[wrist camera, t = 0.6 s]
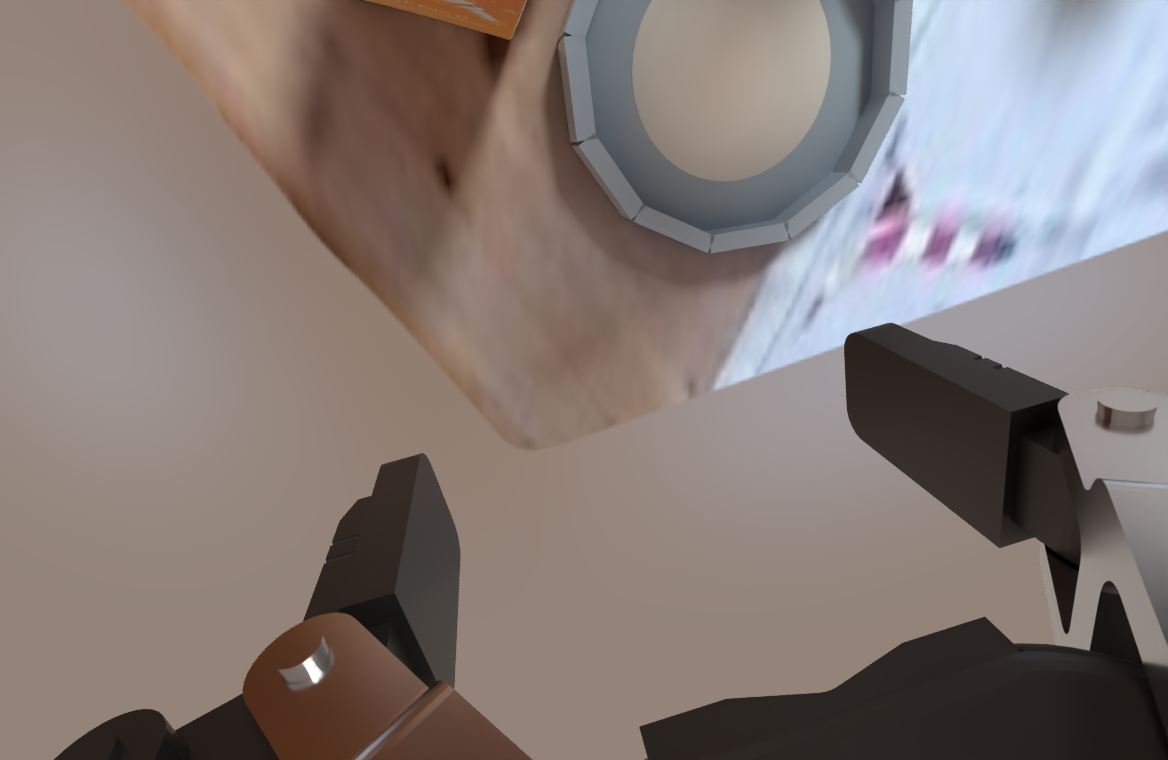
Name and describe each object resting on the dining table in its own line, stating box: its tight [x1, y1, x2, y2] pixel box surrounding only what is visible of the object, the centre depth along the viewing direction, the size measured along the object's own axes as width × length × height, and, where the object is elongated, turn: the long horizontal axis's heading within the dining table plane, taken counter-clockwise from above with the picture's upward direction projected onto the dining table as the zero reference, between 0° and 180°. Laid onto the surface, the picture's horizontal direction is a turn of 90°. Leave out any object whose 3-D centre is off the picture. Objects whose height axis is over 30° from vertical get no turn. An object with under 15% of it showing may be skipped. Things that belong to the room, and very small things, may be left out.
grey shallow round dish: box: [558, 0, 913, 254], centre depth 30 cm, size 18×18×2 cm
